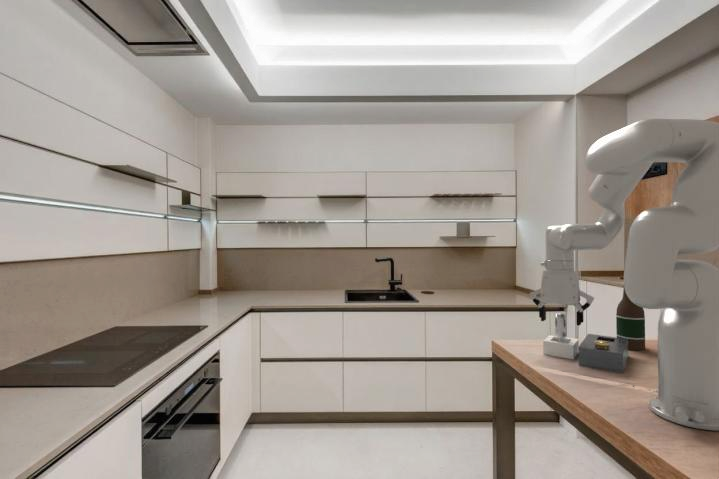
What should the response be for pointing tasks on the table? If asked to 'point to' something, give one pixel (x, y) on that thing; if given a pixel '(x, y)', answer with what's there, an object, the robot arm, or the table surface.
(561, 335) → the silver rounded peg
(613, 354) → the socket block
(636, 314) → the beer bottle
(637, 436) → the table surface
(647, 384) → the table surface
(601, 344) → the key
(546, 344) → the holder
